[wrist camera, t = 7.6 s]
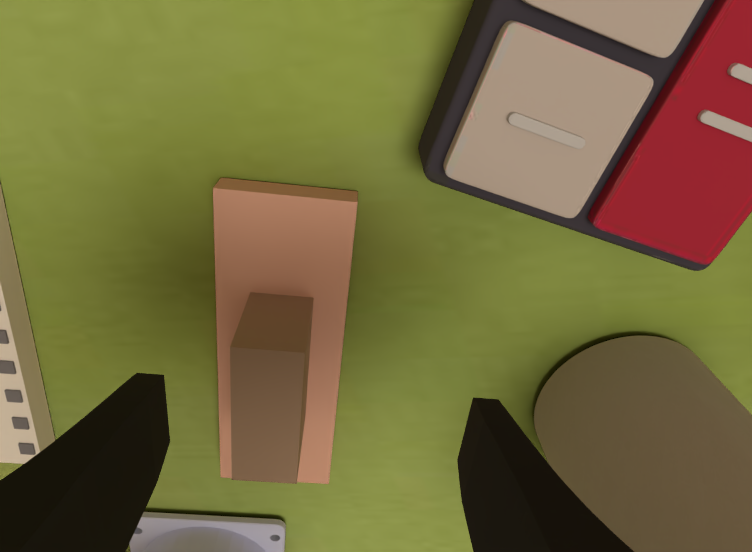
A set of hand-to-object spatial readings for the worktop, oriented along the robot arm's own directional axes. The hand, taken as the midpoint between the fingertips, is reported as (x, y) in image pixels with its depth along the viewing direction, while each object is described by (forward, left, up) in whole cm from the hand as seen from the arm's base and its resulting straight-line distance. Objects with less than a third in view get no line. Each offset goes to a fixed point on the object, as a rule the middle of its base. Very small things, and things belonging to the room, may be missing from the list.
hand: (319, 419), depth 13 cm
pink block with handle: (-5, +2, -10) cm, 11 cm away
